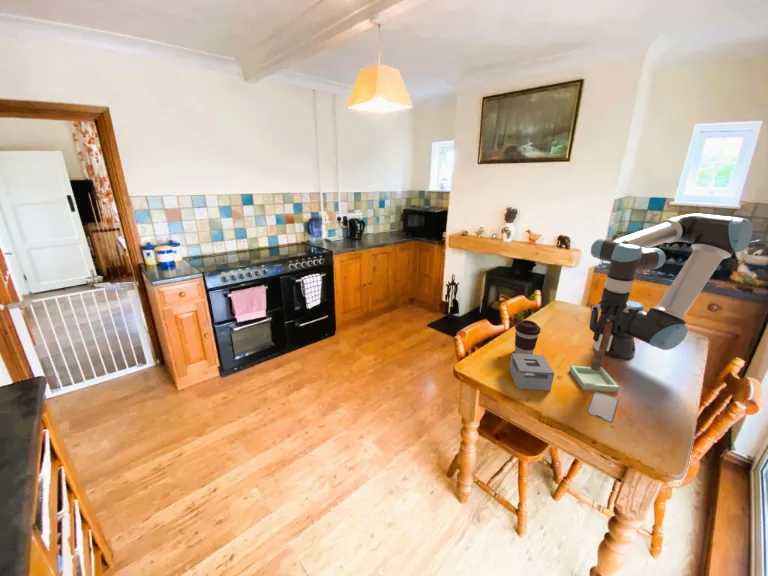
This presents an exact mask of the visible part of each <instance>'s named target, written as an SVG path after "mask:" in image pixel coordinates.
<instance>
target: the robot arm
mask: <svg viewBox="0 0 768 576" xmlns="http://www.w3.org/2000/svg"><path fill="white" fill-rule="evenodd" d="M753 227H754V226H753V223H752V222H751V220H749V219H747V218H743V217H737V216H726V215H719V214H717V215H716V214H707V213H700V212H699V213H697V212H695V213H687V214H681V215H677V216H673V217H670V218H669V217H668V218H667V219H663V220H661V221H660V222H658V223H657V224H656V225H654V226H650V227H646V228H644V229H641V230H639V231H635V232H632V233H630V234H629V233H628V234H626V235H623V236H620V237H617V238H614V239H610V240H609V239H603V238H599V239H596V240H595V241H594V242H593V243H592V245H591V247H590V255H591V256H592V257H593V258H596V259H598V260H600V261H606V262H609V267H608V271H607V275H606V279H605V282H604V287H603V290H602V293H601V299H600V301H599V302H598V304H591V305H590V306H589V307H590V311H591V312H590V320H589V330H590V331H592V333H593V337H592V340H593V345H592V347H593V349H594V350H595V349H596V350H597V351H599V348H600V344H601V340H602V337H603V335H602V334H601V332H602V330H603V327H604V325H605V323H606V321H607V320H611V321H613V326H612V329H611V333H610V336H609V340H608V343H607V347H606V350H605V354H604V356H605V355H606V356H608V357H612V358H615V359H620V360H621V359H622V360H625V359H626V360H627V359H628V360H629V359H631V358H632V359H633V357H635V354H636V346H635V345H636V344H635V339H637V340H640V341H642V342H644V343H646V344H648V345H650V346H651V347H656V348H658V349H660V350H663V351H666V350H667V351H668V350H671V349H673V348H676V347H677V346H678V345H680V344H681V343H682V342H683V341H684V340H685V338H687V336H688V335H687V334H688V331H689V328H688V326H686V324H687V319H686V315H687V313H688V312H689V310H690V309H691V307H692V306H693V304H694V303H695V301H696V300H697V298H698V297H699V296H700V294H701V292H702V291H703V289H704V287H705V286H706V284H707V283H708V282H709V280H710V279H711V277H712V276H713V275H714V273H715V271H716V270H717V268H718V267H719V265H720V264H721V262H722V261H723V260H724V259H728V258H732V255H733V254H734V253H740V252H742V251H744V250H745V249H746V248H748V246H749V244H750V242H751V241H752V240H751V239H752V237H753V231H754V228H753ZM675 242H680V243H681V242H683V243H687V244H691V245H690V246H691V249H692V252H691V254H690V255H689V257H688V259H687V260H686V261H685V263H684V264H683V267H681V269H680V271H679V272H678V274H677V276H676V277H675V279H674V280H673V282H672V283H671V285H670V286H669V287H668V289H667V291H666V293H665V294H664V296H662V298H661V299H660V301H659V303H658V304H657V305H656V306H650V309H649V310H644V309H645V307H644V305H643V304H642V303H641V302H639V301H633V300H629V298H630V294H631V293H630V292H631V291H632V286H633V284H634V280H635V277H636V273H637V272H644V271H653V270H656V269H659V268H661V267H662V266H663V265H664V264H665V262H666V260H667V259H666V254H665V252H664V250H662V249H661V248H659V247H658V248H657V247H656V246H658V245H662V244H665V243H667V244H671V243H675ZM600 310H601V311H600ZM599 312H600V313H599ZM599 314H600V316H599Z"/></svg>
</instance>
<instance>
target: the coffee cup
mask: <svg viewBox="0 0 768 576" xmlns="http://www.w3.org/2000/svg"><path fill="white" fill-rule="evenodd" d="M514 329H515V330H516V331H515V333H514V334H515V336H514V338H515V339H514V353H517V354H533V353H534V351H535V348H536V345H537V341H538V339H539V338H538V337H539V334H541V327H540V326H539V324H537V323H536V322H534V321H532V320H528V319H522V320H520V321H519V322H517V323H515V326H514Z"/></svg>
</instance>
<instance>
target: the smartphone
mask: <svg viewBox="0 0 768 576" xmlns="http://www.w3.org/2000/svg"><path fill="white" fill-rule="evenodd" d="M591 397H592V398H591V399H590V402H589V404H588V407H587V410H586V413H587V414H588V415H590V416H593V417H595V418H597V419H600V420H603V421H605V422H607V423H610V424H611V423H613V422H614V418H615V417H616V416H615V414H616V411H617V407H618V403H619V399H618V398H616V397H614V396H612V395H608V394H606V393H604V392H602V391H593V395H592V396H591Z"/></svg>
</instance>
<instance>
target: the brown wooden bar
mask: <svg viewBox="0 0 768 576" xmlns="http://www.w3.org/2000/svg"><path fill="white" fill-rule="evenodd" d="M612 326H613V321H611V320H607V321H606V323H605V325H604V327H603V330H602V332H601V334H602V335H603V337H602V340H601V344H600V348H599V351H597V350H596V349H595V348H594V353H593V358H592V361H591V364H590V367H591V369H592V370H595V371H600V368H602V364H603V360H604V358H605V350H606V347H607V343H608V340H609V336H610V333H611V329H612Z"/></svg>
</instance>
